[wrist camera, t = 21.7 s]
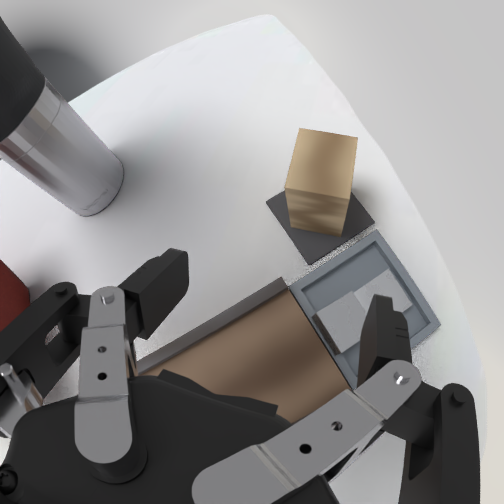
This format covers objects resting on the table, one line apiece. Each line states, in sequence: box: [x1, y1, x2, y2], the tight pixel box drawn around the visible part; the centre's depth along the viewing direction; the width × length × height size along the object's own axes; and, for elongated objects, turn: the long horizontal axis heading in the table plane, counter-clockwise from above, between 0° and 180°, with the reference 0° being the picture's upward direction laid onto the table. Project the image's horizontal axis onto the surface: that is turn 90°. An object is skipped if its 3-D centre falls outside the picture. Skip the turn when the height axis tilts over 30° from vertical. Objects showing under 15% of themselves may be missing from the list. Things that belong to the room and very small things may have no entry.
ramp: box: [137, 277, 353, 425], centre depth 26 cm, size 12×16×4 cm
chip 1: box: [311, 291, 367, 356], centre depth 26 cm, size 4×4×2 cm
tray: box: [289, 229, 441, 390], centre depth 27 cm, size 11×10×2 cm
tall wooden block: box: [284, 128, 358, 237], centre depth 28 cm, size 5×6×8 cm
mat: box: [266, 191, 374, 265], centre depth 31 cm, size 8×8×1 cm
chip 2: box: [354, 269, 412, 313], centre depth 27 cm, size 4×4×2 cm
